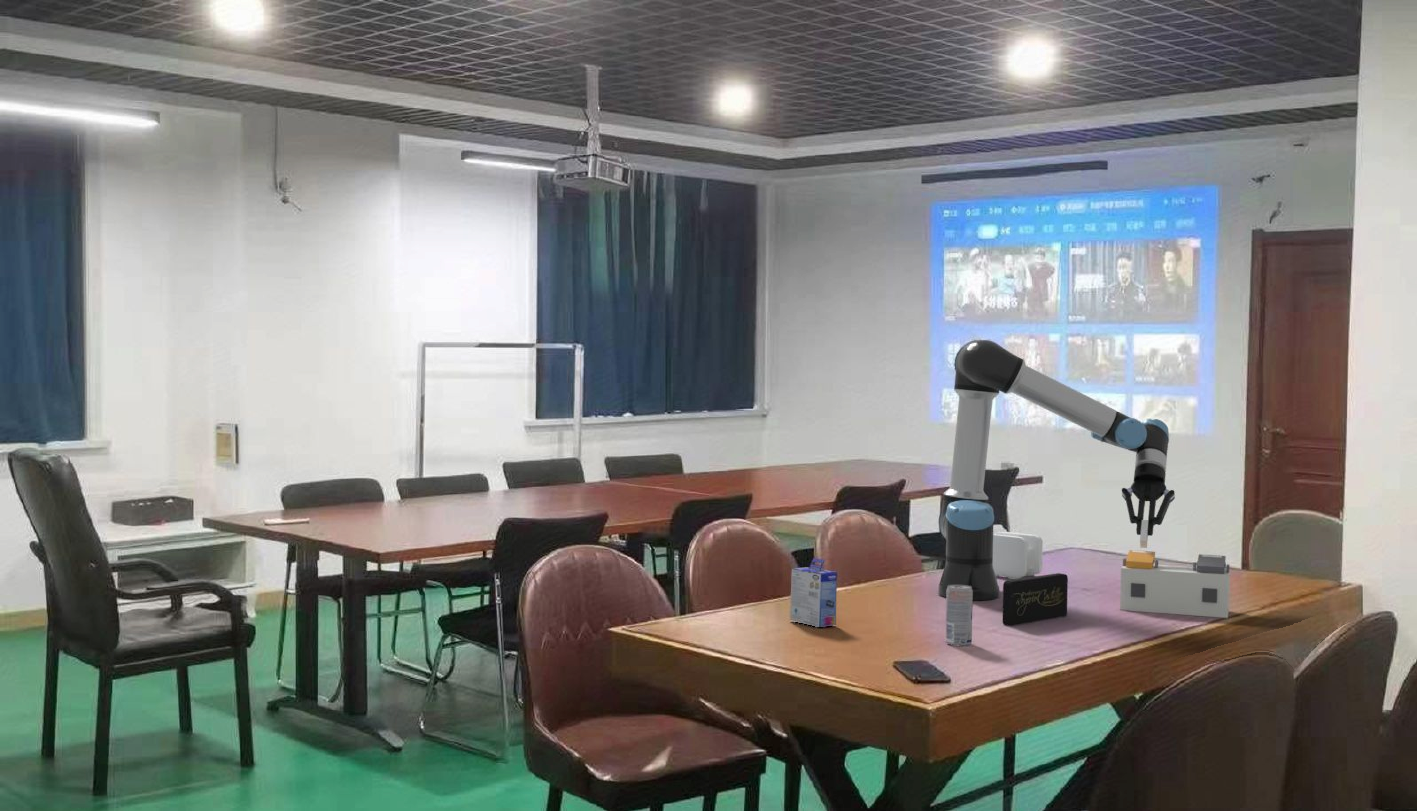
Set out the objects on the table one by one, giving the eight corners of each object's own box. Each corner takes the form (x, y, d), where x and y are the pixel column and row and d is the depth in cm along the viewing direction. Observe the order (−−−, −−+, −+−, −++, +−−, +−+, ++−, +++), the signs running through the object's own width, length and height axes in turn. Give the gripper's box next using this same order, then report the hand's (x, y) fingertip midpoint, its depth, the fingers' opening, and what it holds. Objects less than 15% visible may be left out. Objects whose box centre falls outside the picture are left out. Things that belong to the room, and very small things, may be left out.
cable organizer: (976, 574, 377) (976, 532, 377) (996, 570, 385) (997, 529, 385) (1023, 581, 367) (1024, 538, 367) (1043, 576, 375) (1044, 534, 374)
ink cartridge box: (837, 626, 300) (838, 561, 300) (819, 629, 297) (820, 563, 296) (806, 619, 308) (807, 555, 308) (789, 622, 304) (789, 557, 304)
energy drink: (968, 641, 285) (969, 584, 285) (974, 646, 280) (975, 588, 280) (943, 641, 285) (944, 584, 285) (948, 646, 280) (949, 588, 280)
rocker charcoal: (1197, 560, 326) (1197, 553, 326) (1226, 562, 323) (1226, 555, 323) (1195, 571, 319) (1195, 565, 318) (1225, 573, 316) (1225, 566, 316)
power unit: (1124, 603, 334) (1125, 555, 333) (1228, 610, 324) (1230, 562, 324) (1120, 609, 324) (1121, 561, 324) (1227, 618, 315) (1228, 568, 314)
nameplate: (1009, 626, 303) (1009, 582, 302) (1002, 625, 304) (1003, 580, 304) (1067, 616, 316) (1067, 573, 315) (1060, 615, 317) (1061, 572, 317)
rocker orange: (1128, 556, 332) (1128, 549, 332) (1155, 557, 330) (1156, 551, 329) (1125, 567, 325) (1125, 560, 325) (1153, 569, 322) (1153, 562, 322)
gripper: (1177, 481, 345) (1172, 555, 330) (1124, 479, 350) (1116, 552, 335) (1176, 462, 340) (1171, 536, 325) (1122, 460, 345) (1114, 533, 330)
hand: (1143, 544), depth 330 cm, fingers closed
